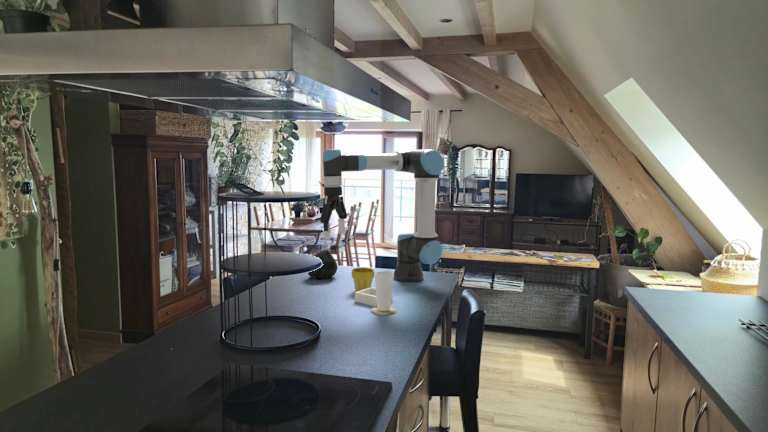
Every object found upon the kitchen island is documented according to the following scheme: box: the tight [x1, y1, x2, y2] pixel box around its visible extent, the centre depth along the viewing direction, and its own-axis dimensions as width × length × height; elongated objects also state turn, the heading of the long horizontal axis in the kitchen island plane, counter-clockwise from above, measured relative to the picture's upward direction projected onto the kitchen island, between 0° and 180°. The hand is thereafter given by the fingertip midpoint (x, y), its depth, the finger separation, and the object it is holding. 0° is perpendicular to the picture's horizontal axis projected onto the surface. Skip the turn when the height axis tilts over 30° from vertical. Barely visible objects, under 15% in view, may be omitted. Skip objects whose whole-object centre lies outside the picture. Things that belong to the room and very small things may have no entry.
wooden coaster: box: [370, 306, 397, 316], centre depth 201 cm, size 10×10×1 cm
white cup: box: [374, 270, 394, 311], centre depth 200 cm, size 7×7×15 cm
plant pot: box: [351, 267, 375, 292], centre depth 231 cm, size 10×10×10 cm
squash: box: [307, 249, 338, 279], centre depth 255 cm, size 14×15×15 cm
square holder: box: [354, 286, 393, 307], centre depth 215 cm, size 11×11×4 cm
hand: (334, 236), depth 215 cm, fingers open, 13 cm apart
